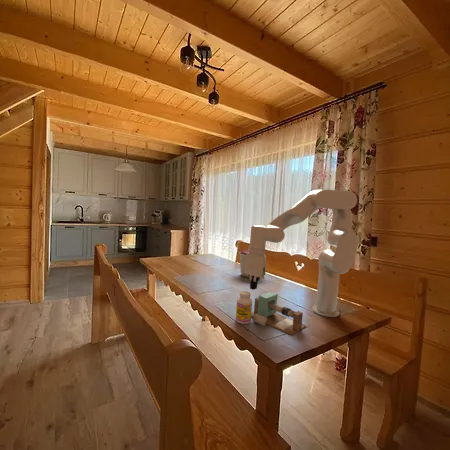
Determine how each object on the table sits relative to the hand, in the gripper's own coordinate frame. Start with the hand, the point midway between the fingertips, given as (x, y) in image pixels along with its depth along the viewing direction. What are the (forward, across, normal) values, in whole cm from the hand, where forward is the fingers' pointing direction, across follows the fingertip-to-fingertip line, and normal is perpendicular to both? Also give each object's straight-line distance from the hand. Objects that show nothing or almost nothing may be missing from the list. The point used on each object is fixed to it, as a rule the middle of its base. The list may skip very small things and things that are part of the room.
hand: (253, 288), depth 124 cm
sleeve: (+11, +11, -8) cm, 17 cm away
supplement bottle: (+11, +5, -11) cm, 17 cm away
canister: (+11, -39, +47) cm, 62 cm away
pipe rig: (+11, +14, +1) cm, 17 cm away
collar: (+9, +9, +1) cm, 13 cm away
